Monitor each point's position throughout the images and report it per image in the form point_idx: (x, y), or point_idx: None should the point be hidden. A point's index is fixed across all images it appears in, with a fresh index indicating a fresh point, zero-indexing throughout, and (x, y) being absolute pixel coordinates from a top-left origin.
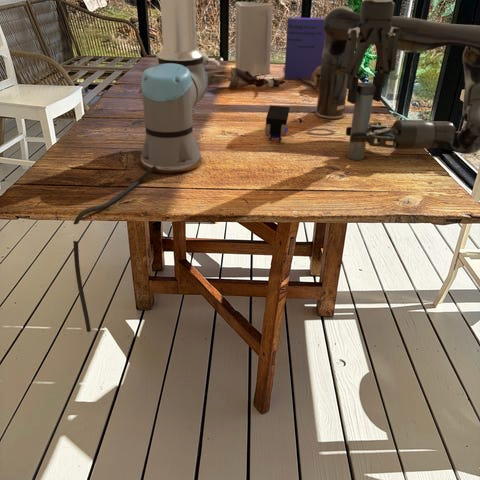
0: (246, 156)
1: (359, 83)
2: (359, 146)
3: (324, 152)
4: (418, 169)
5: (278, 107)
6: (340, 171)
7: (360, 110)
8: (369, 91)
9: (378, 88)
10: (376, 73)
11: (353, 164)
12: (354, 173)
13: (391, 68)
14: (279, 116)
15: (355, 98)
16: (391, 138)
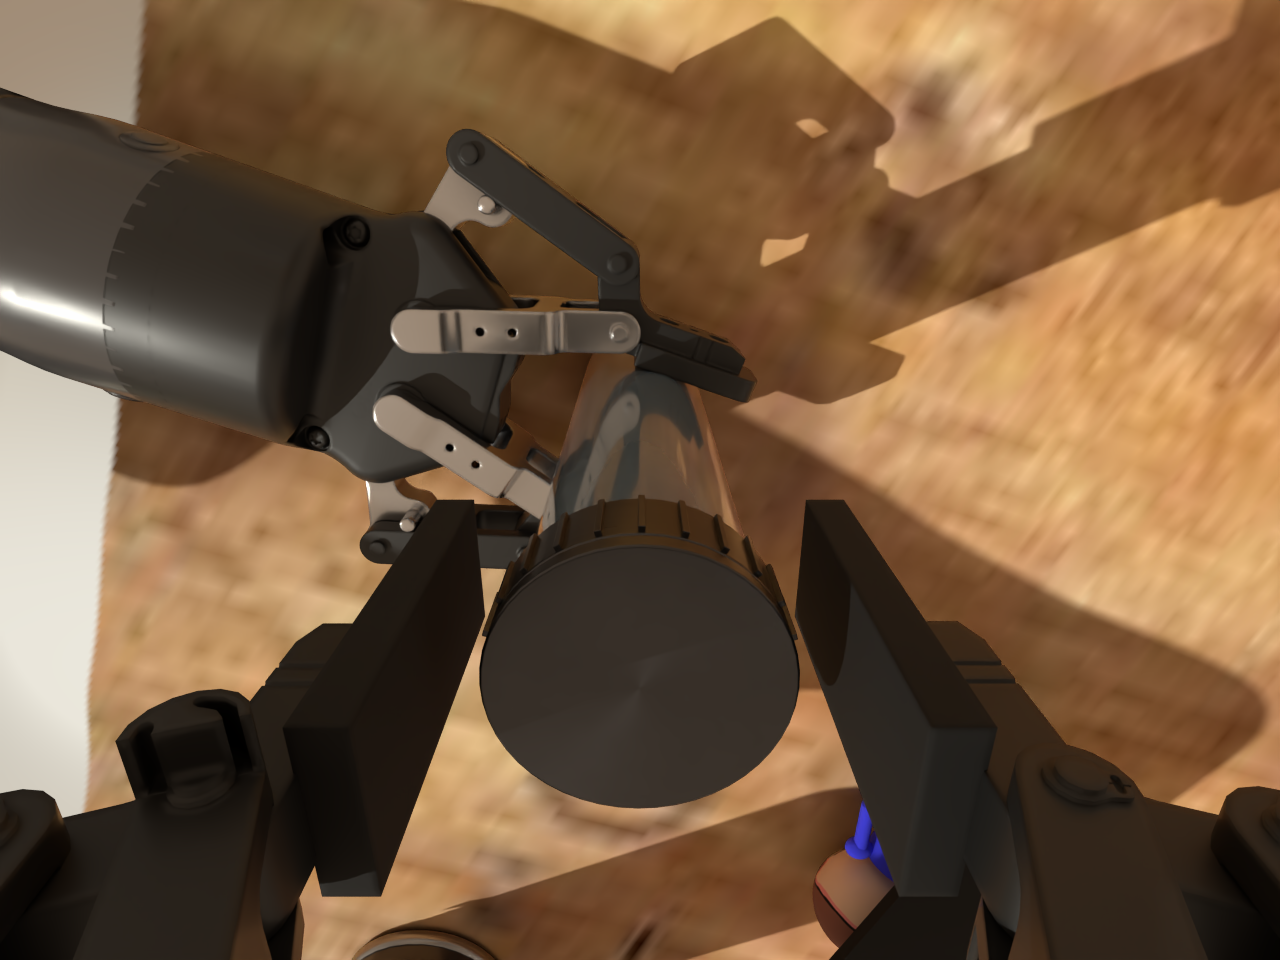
0: (1250, 592)
1: (693, 772)
2: None
3: (783, 513)
4: (319, 19)
5: None
6: (884, 186)
7: (711, 461)
8: (667, 513)
9: (435, 609)
10: (379, 872)
11: (726, 271)
12: (816, 117)
13: (26, 842)
14: (974, 883)
15: (828, 529)
16: (484, 141)
